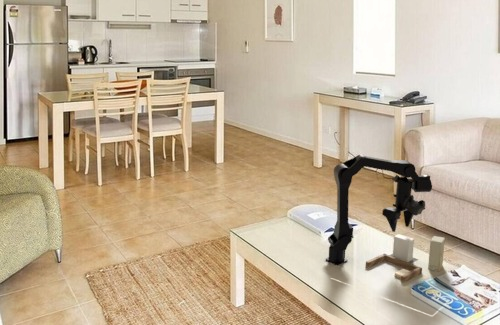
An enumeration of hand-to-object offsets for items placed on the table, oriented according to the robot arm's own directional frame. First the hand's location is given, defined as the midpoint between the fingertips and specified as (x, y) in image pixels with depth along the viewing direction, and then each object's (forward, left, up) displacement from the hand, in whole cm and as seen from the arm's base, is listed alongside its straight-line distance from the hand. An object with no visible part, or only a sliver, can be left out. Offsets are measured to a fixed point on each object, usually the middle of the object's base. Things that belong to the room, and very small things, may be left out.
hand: (400, 229), depth 205 cm
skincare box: (+4, -15, -13) cm, 20 cm away
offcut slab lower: (-12, -11, -14) cm, 21 cm away
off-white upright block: (+1, -2, -12) cm, 12 cm away
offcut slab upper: (-12, -11, -12) cm, 21 cm away
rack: (-11, -6, -13) cm, 18 cm away
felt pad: (+1, -2, -13) cm, 13 cm away
